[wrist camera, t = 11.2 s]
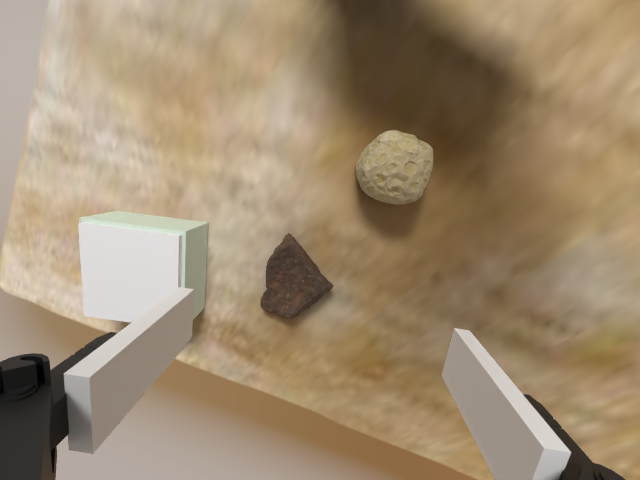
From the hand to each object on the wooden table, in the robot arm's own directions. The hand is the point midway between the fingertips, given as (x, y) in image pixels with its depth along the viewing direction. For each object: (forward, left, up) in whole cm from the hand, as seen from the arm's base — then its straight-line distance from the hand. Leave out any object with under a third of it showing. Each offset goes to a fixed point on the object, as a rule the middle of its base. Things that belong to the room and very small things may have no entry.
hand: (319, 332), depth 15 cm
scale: (+9, -25, -30) cm, 40 cm away
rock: (+6, -9, -30) cm, 32 cm away
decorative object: (-8, +4, -31) cm, 32 cm away
